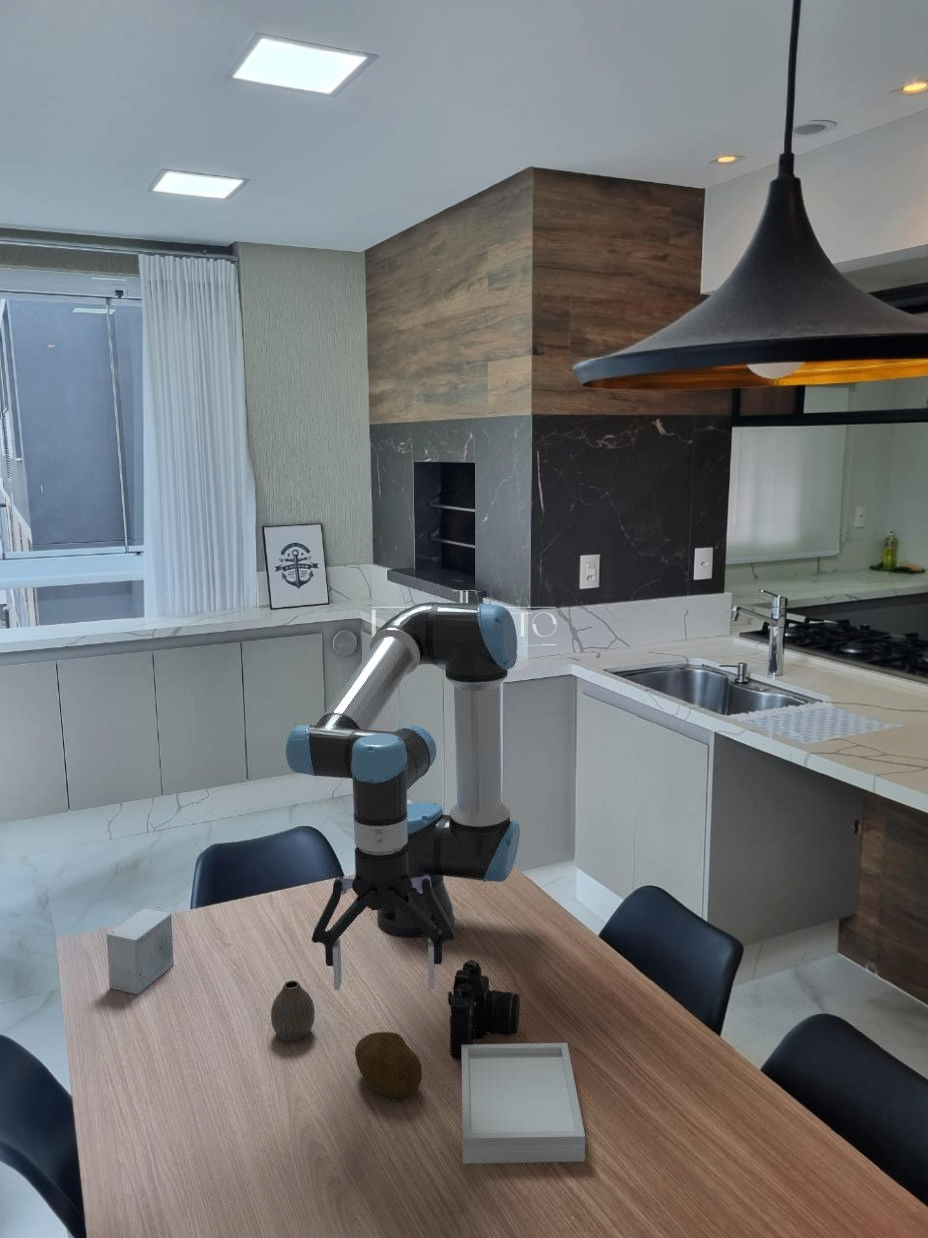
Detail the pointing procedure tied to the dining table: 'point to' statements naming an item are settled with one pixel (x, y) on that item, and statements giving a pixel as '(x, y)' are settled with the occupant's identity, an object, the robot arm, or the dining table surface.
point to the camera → (479, 1009)
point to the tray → (520, 1104)
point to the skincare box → (140, 950)
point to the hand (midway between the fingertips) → (384, 984)
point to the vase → (292, 1012)
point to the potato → (388, 1064)
